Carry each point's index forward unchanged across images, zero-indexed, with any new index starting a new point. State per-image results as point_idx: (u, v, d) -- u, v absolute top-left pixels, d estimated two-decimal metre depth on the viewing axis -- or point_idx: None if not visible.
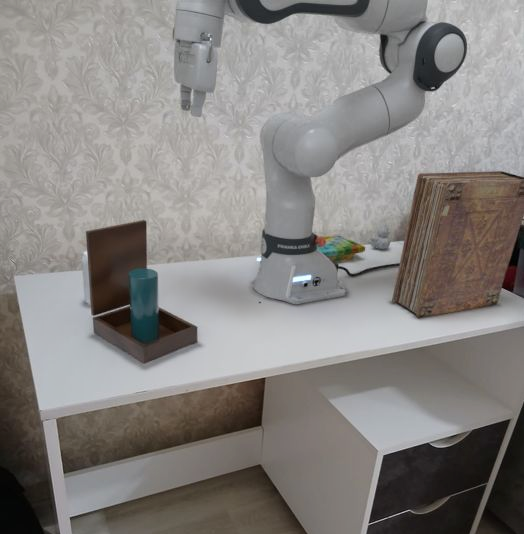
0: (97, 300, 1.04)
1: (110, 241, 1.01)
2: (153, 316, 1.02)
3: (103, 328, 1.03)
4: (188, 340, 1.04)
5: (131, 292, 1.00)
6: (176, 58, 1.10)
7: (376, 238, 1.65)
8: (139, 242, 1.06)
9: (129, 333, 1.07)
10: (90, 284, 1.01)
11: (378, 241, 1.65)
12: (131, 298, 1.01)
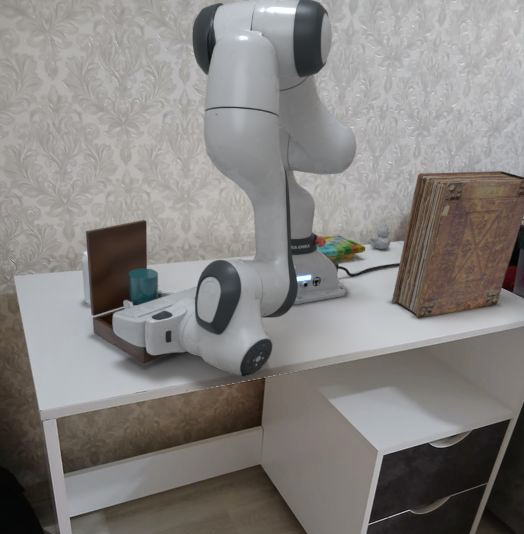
0: (97, 300, 1.04)
1: (110, 241, 1.01)
2: None
3: (103, 328, 1.03)
4: None
5: (131, 292, 1.00)
6: None
7: (376, 238, 1.65)
8: (139, 242, 1.06)
9: None
10: (90, 284, 1.01)
11: (378, 241, 1.65)
12: (131, 298, 1.01)
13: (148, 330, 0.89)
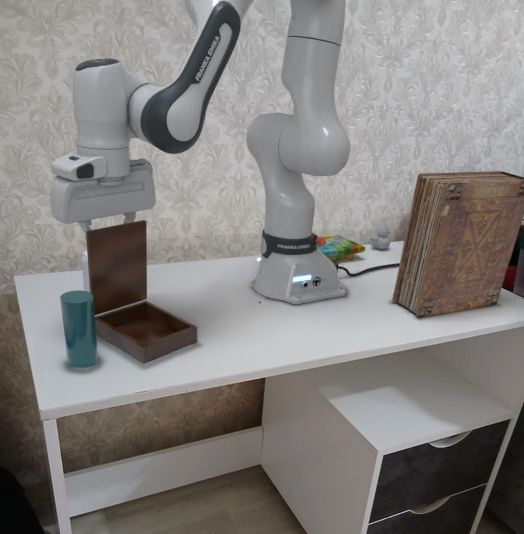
0: (97, 300, 1.04)
1: (110, 241, 1.01)
2: (89, 343, 0.94)
3: (103, 328, 1.03)
4: (188, 340, 1.04)
5: (63, 317, 0.91)
6: (71, 198, 0.93)
7: (376, 238, 1.65)
8: (139, 242, 1.06)
9: (129, 333, 1.07)
10: (90, 284, 1.01)
11: (378, 241, 1.65)
12: (64, 323, 0.92)
13: (54, 167, 0.92)
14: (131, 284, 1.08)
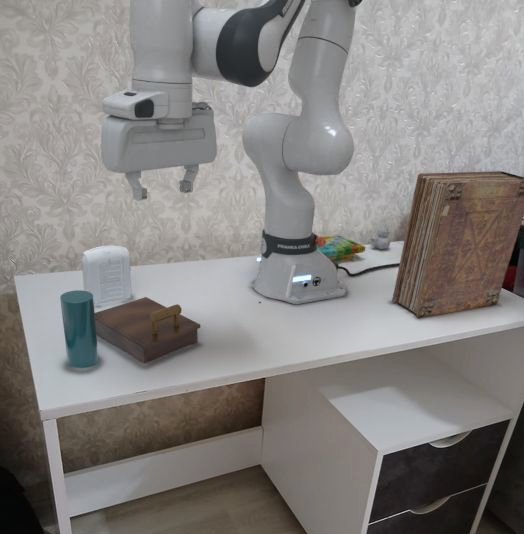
0: None
1: None
2: (89, 343, 0.94)
3: (103, 328, 1.03)
4: (188, 340, 1.04)
5: (63, 317, 0.91)
6: (126, 142, 0.78)
7: (376, 238, 1.65)
8: None
9: None
10: (112, 327, 1.01)
11: (378, 241, 1.65)
12: (64, 323, 0.92)
13: (107, 105, 0.78)
14: None
